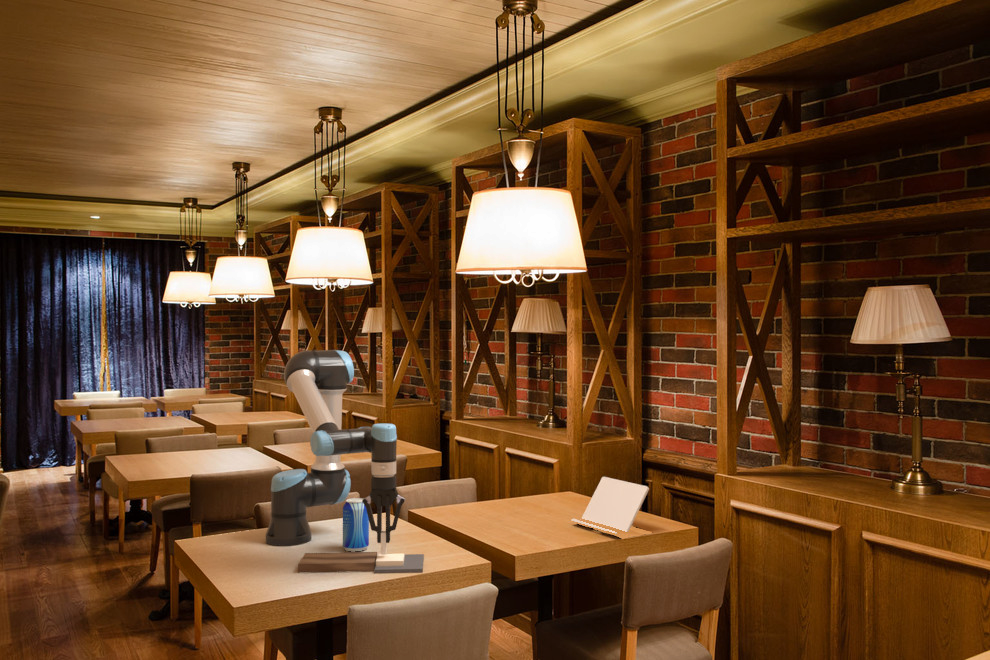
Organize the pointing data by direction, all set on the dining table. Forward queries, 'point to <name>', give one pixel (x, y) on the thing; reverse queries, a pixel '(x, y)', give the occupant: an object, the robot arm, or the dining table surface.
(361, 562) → the serving board
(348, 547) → the beer can
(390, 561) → the cream flat block
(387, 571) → the mat
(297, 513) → the robot arm
